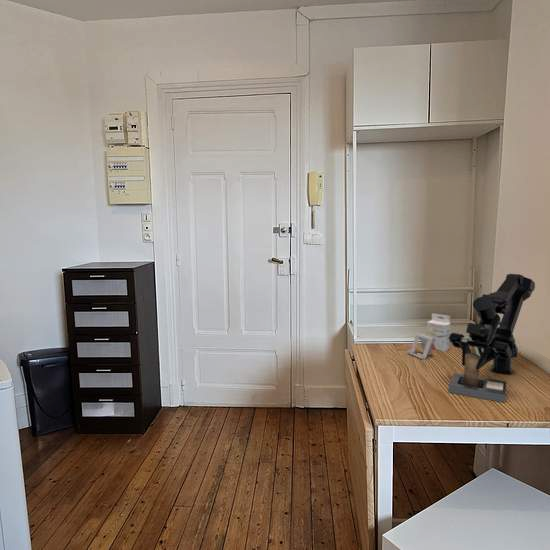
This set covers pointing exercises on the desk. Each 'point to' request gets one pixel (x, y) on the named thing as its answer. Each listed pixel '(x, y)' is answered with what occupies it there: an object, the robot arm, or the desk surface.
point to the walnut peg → (471, 370)
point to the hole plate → (490, 389)
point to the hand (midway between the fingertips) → (469, 366)
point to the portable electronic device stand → (425, 343)
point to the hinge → (478, 351)
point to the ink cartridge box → (439, 332)
